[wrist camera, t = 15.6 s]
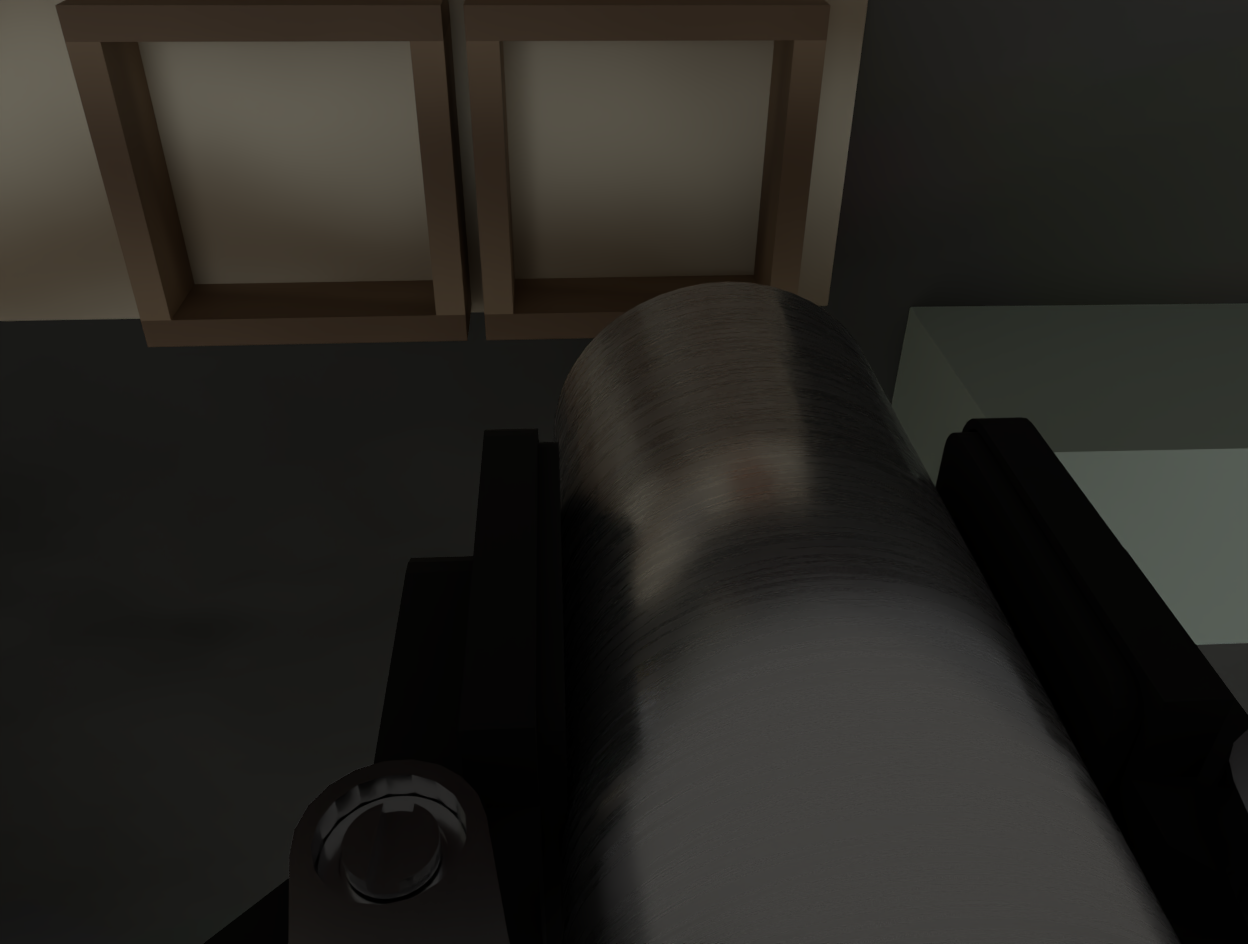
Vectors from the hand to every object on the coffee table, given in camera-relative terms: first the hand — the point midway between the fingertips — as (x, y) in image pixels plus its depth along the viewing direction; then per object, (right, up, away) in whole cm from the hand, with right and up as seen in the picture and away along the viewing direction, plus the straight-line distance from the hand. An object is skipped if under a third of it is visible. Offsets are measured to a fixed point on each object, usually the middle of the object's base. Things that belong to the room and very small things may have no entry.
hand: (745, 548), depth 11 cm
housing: (+12, +3, +18) cm, 22 cm away
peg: (0, +1, +2) cm, 2 cm away
